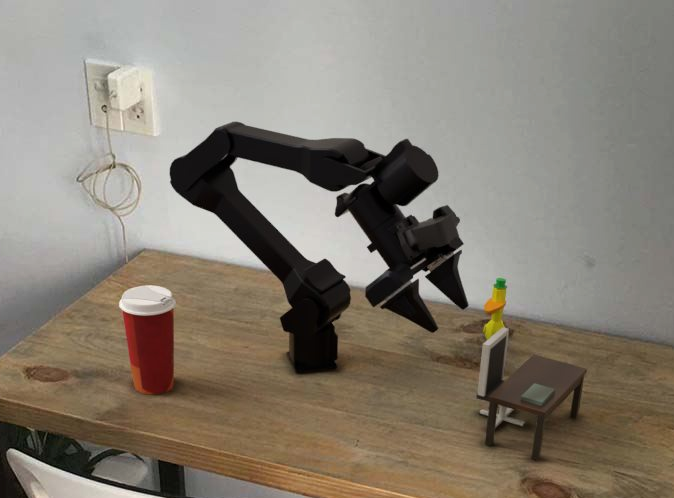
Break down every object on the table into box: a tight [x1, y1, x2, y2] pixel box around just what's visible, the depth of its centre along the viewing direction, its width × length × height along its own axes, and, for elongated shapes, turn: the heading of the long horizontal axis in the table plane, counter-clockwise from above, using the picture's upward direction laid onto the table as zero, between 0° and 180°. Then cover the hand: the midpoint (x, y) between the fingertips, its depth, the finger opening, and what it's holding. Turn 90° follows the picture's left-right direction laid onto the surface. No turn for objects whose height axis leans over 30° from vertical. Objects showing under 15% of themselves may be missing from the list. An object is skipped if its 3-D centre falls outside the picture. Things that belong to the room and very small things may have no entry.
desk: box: [484, 353, 588, 462], centre depth 153 cm, size 8×15×8 cm, turn 150°
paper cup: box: [118, 284, 177, 395], centre depth 157 cm, size 8×8×14 cm
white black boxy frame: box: [475, 327, 527, 429], centre depth 153 cm, size 7×7×12 cm
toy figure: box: [482, 277, 508, 341], centre depth 171 cm, size 7×4×12 cm, turn 151°
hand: (451, 319), depth 153 cm, fingers open, 9 cm apart
